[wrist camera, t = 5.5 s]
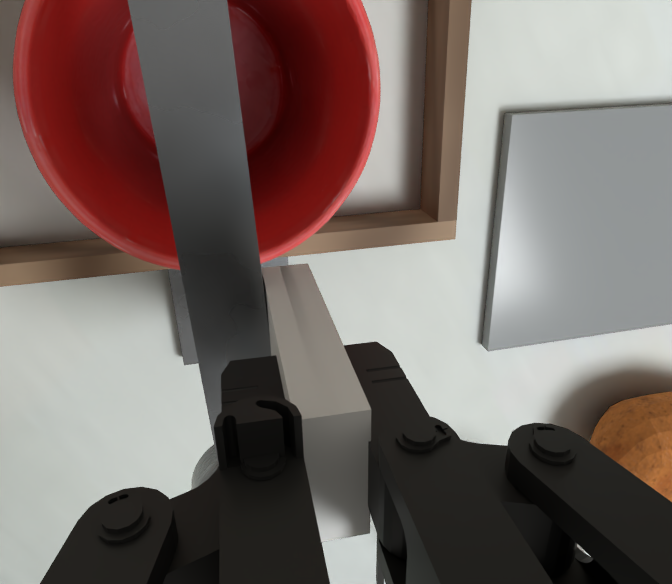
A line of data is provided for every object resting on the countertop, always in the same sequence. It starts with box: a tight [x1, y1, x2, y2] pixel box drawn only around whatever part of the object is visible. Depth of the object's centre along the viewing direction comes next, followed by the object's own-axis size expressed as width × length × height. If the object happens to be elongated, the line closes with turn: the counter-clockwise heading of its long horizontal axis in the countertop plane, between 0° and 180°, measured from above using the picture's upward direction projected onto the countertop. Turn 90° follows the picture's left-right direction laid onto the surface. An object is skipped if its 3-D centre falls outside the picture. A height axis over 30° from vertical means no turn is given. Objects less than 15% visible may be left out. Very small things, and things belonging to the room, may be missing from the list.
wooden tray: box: [0, 0, 472, 287], centre depth 24 cm, size 23×16×2 cm
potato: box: [590, 392, 672, 502], centre depth 37 cm, size 9×11×8 cm
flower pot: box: [13, 0, 380, 270], centre depth 20 cm, size 11×11×10 cm
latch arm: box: [128, 0, 322, 543], centre depth 12 cm, size 4×19×4 cm, turn 3°
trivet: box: [482, 104, 672, 351], centre depth 32 cm, size 14×14×1 cm
